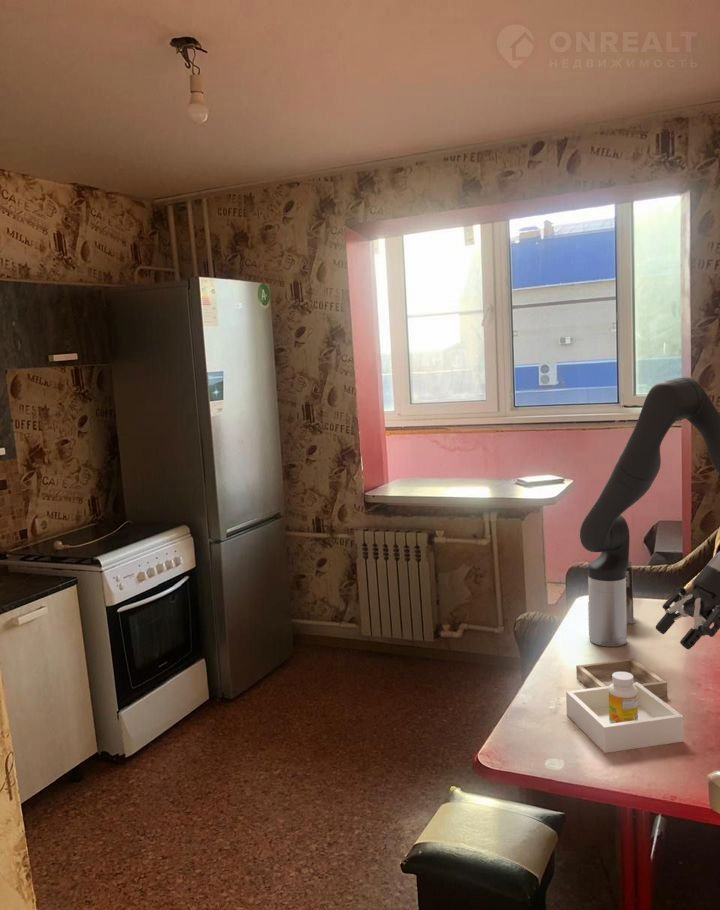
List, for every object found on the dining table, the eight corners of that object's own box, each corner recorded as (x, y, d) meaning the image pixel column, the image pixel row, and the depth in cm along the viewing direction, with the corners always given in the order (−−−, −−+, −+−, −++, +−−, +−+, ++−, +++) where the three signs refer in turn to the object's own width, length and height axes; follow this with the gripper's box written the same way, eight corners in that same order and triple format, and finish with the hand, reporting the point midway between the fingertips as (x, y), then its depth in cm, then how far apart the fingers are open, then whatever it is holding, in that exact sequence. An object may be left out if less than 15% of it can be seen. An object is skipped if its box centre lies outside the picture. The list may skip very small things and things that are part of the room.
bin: (566, 714, 152) (566, 691, 152) (637, 704, 155) (637, 682, 154) (604, 752, 137) (604, 727, 136) (683, 741, 139) (683, 716, 139)
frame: (576, 678, 170) (576, 665, 169) (632, 670, 172) (632, 658, 171) (606, 704, 156) (606, 690, 155) (667, 696, 158) (667, 682, 158)
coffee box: (633, 616, 208) (632, 561, 206) (633, 624, 202) (633, 567, 200) (599, 614, 211) (598, 560, 209) (598, 622, 205) (597, 566, 203)
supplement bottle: (604, 717, 148) (603, 671, 147) (630, 714, 148) (629, 668, 147) (616, 730, 143) (615, 682, 142) (642, 727, 143) (642, 679, 142)
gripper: (689, 556, 152) (639, 615, 152) (735, 574, 138) (680, 639, 138) (713, 578, 154) (663, 637, 153) (760, 598, 140) (705, 663, 139)
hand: (671, 638), depth 146 cm, fingers open, 8 cm apart
